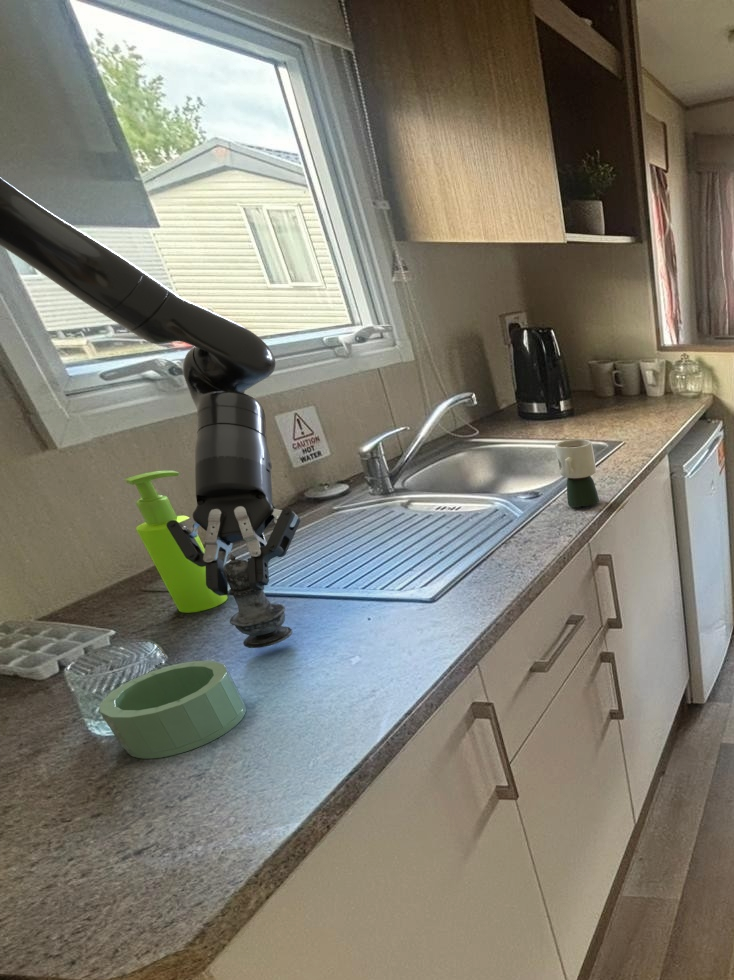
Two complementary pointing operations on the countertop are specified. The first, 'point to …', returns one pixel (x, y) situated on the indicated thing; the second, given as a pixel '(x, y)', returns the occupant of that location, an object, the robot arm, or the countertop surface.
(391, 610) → the countertop surface
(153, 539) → the soap dispenser
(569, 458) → the character mug
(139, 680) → the holder
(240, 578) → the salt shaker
